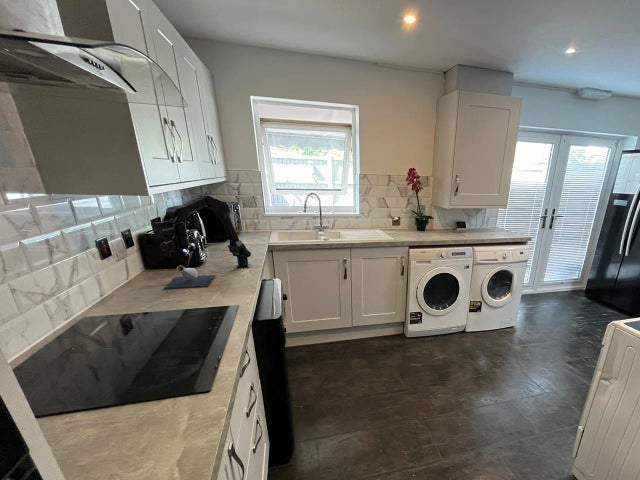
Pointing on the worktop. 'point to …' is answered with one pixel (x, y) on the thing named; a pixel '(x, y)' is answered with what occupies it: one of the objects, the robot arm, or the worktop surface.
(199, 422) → the worktop surface
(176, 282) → the mat
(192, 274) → the flask
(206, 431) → the worktop surface
